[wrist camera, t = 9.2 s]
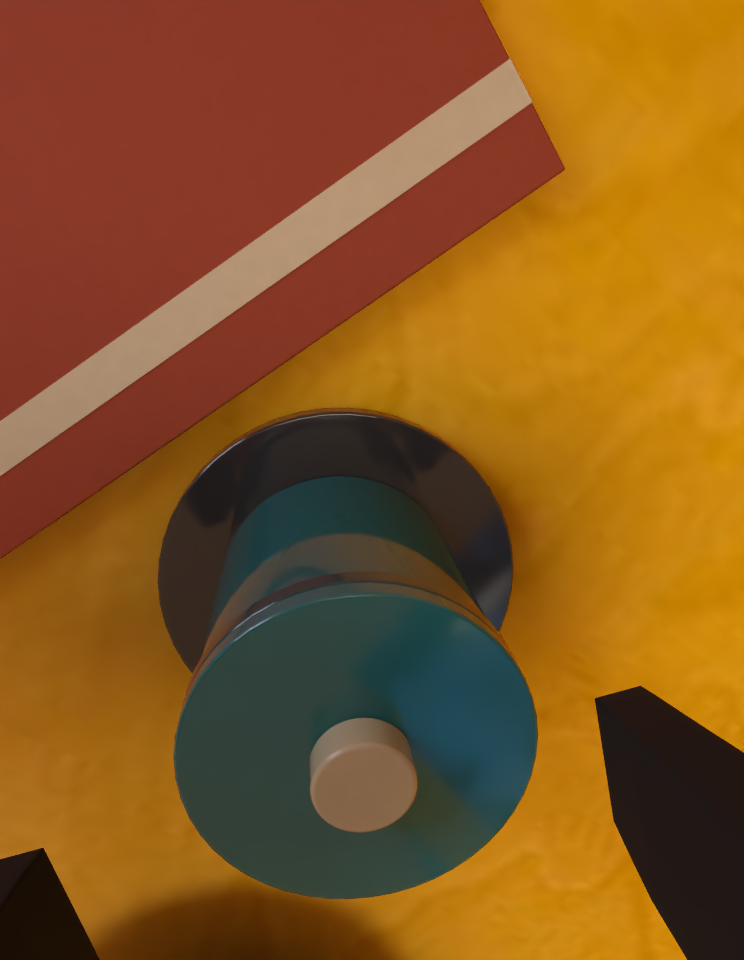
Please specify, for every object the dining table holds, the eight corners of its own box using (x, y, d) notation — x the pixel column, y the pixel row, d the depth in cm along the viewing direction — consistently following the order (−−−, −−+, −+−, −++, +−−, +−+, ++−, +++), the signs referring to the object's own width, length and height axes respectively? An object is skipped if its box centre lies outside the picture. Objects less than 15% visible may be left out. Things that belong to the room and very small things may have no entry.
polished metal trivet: (297, 778, 19) (297, 791, 18) (85, 541, 16) (78, 549, 16) (567, 609, 18) (574, 619, 18) (389, 333, 16) (392, 335, 15)
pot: (308, 729, 18) (315, 993, 12) (164, 561, 16) (77, 764, 10) (500, 609, 17) (617, 814, 11) (372, 422, 16) (425, 539, 9)
